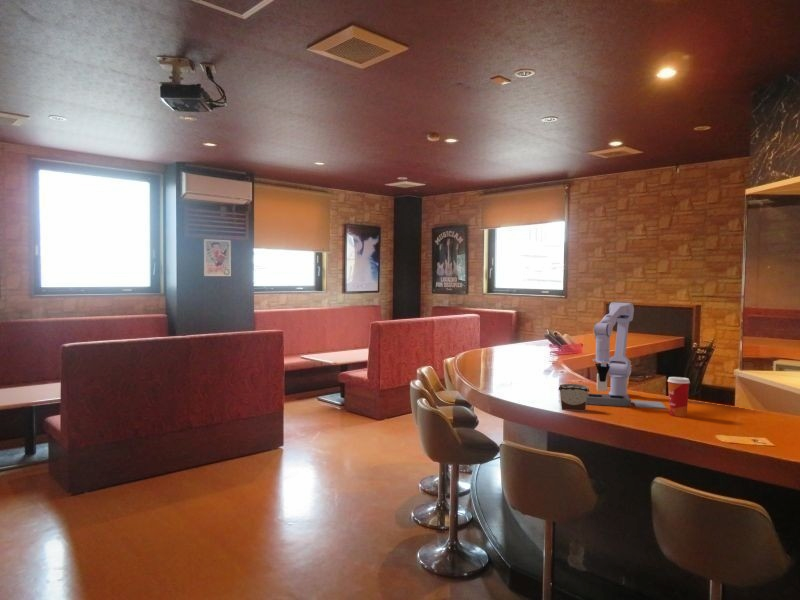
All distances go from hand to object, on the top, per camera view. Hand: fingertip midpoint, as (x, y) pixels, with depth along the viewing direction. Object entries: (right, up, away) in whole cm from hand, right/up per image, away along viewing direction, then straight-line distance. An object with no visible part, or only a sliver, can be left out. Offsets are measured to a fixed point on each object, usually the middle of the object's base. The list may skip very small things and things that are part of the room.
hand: (602, 380), depth 239 cm
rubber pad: (+19, -10, -4) cm, 22 cm away
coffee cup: (+22, -11, -23) cm, 33 cm away
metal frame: (+1, -10, 0) cm, 10 cm away
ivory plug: (0, -4, 0) cm, 4 cm away
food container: (-17, -10, -12) cm, 23 cm away
